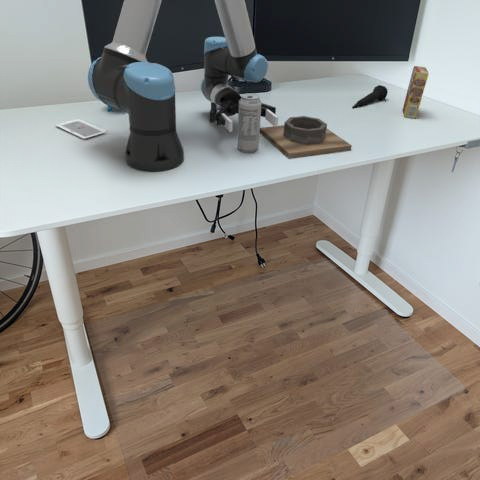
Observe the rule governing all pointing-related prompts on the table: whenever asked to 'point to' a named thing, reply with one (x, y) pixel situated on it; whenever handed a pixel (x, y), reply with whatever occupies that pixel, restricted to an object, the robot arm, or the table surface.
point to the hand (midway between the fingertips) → (254, 124)
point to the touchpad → (81, 128)
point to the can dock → (303, 148)
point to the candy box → (415, 91)
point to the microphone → (373, 96)
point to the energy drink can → (249, 122)
